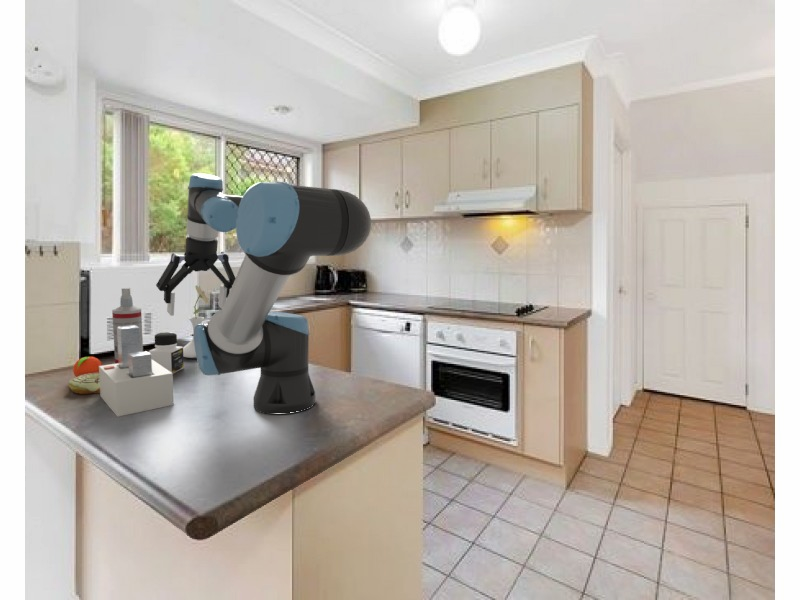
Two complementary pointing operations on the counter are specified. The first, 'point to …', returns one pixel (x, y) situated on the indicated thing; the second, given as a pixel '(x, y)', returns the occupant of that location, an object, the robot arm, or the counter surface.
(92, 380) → the decorated donut
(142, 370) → the grey square peg
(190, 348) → the flower in vase
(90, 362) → the clementine
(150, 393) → the housing
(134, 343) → the upper square grey bar
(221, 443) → the counter surface
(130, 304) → the spray bottle
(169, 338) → the medicine bottle
